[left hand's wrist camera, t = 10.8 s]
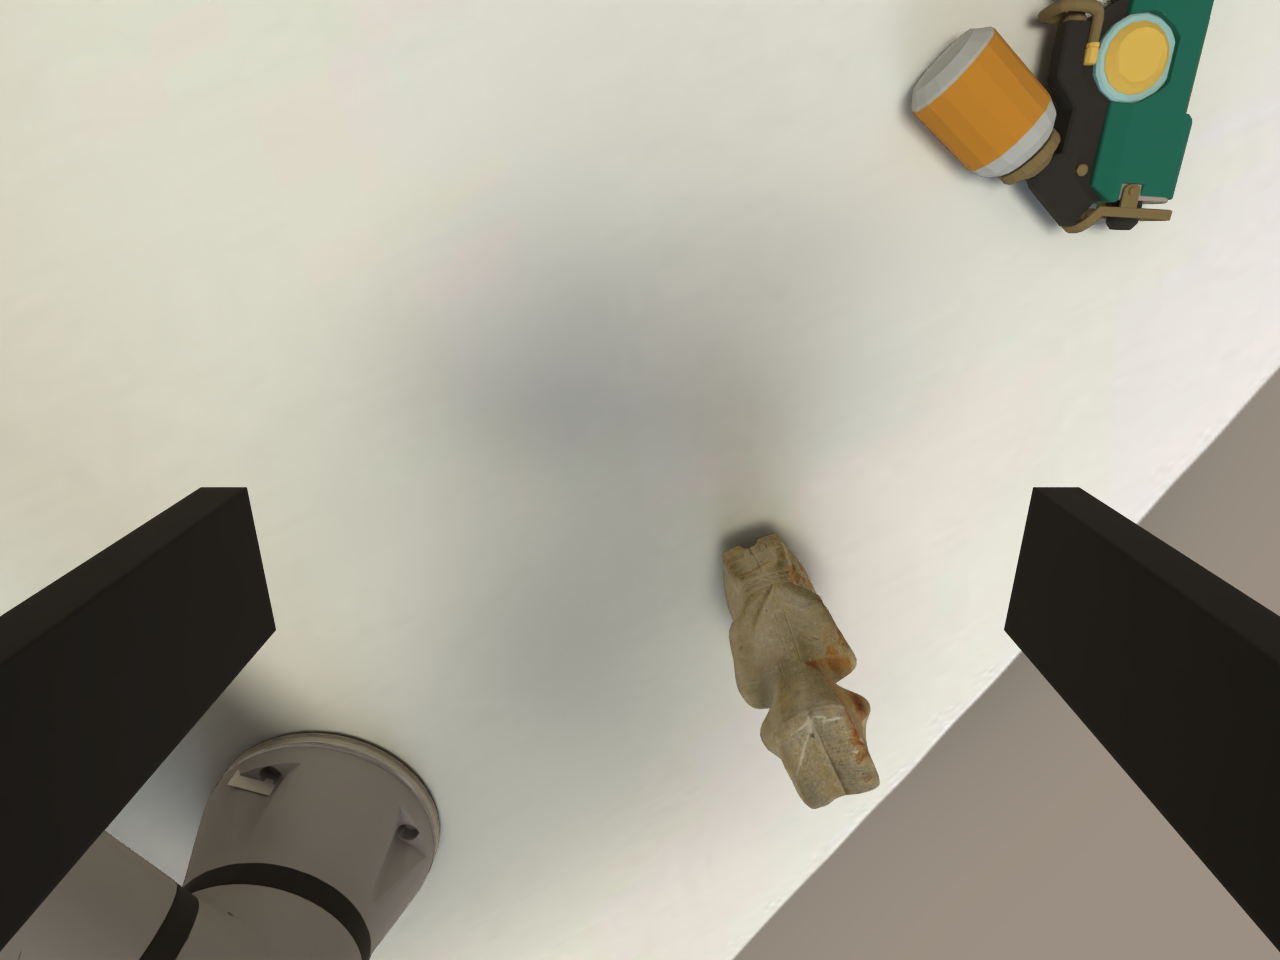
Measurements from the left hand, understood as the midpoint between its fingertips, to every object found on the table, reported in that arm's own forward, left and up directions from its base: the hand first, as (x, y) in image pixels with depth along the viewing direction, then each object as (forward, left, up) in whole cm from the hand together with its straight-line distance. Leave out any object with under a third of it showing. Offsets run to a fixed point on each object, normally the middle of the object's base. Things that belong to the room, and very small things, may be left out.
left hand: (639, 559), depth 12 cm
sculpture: (-9, -14, -28) cm, 33 cm away
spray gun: (+22, -11, -28) cm, 37 cm away
